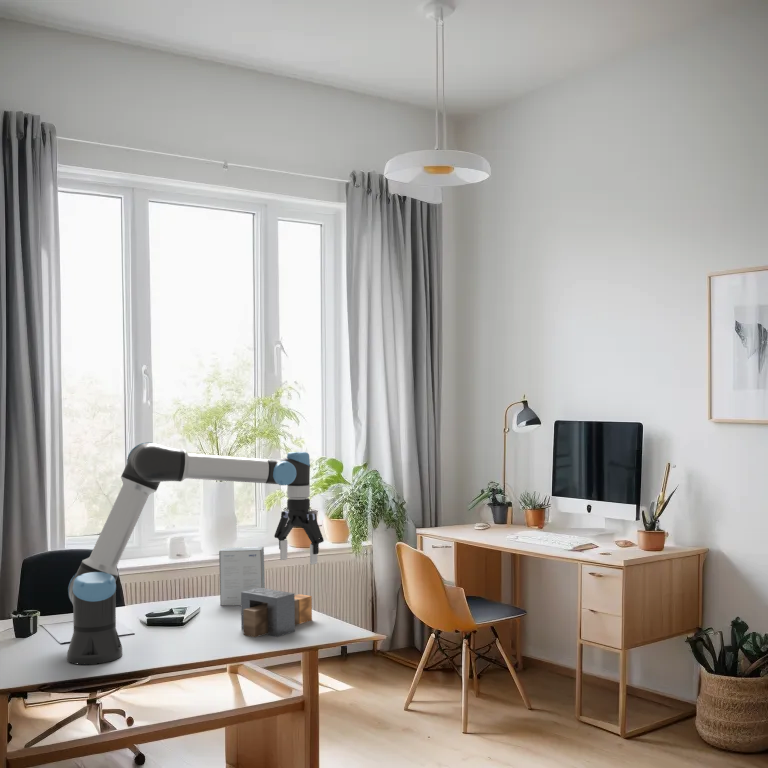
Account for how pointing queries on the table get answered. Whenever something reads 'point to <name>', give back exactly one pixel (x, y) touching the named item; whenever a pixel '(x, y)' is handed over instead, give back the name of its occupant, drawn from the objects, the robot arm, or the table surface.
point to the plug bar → (259, 616)
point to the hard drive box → (240, 572)
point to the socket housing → (272, 609)
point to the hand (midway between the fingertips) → (298, 561)
